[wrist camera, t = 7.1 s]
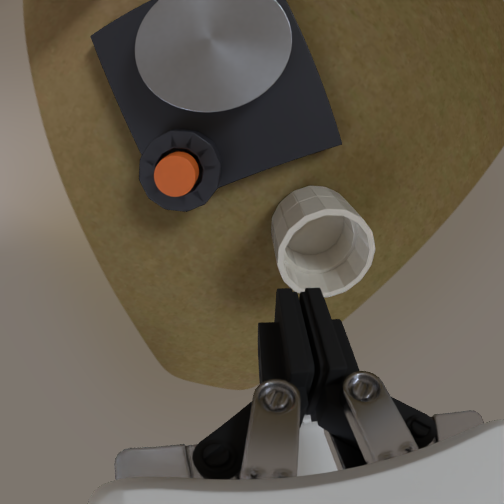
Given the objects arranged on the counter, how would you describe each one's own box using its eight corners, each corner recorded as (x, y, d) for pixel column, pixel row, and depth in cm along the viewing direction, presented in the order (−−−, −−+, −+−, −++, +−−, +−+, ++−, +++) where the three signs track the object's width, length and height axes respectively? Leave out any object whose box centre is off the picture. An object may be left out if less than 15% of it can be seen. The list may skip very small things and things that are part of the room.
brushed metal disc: (313, 82, 16) (314, 82, 15) (169, 136, 17) (168, 137, 17) (257, -37, 11) (257, -39, 11) (118, 19, 13) (116, 18, 12)
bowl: (356, 243, 25) (379, 278, 20) (285, 268, 26) (294, 309, 21) (339, 173, 22) (365, 195, 17) (258, 201, 23) (263, 230, 18)
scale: (338, 145, 21) (351, 152, 18) (170, 208, 23) (161, 222, 20) (263, -33, 13) (265, -49, 10) (94, 41, 15) (76, 35, 13)
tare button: (205, 180, 19) (202, 187, 18) (170, 196, 20) (165, 203, 18) (189, 144, 18) (184, 148, 17) (153, 161, 18) (146, 166, 17)
